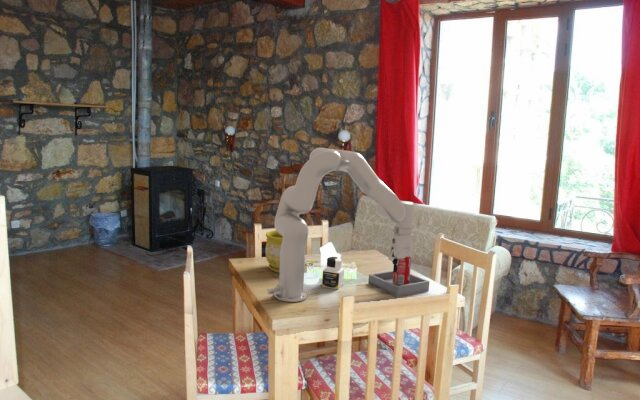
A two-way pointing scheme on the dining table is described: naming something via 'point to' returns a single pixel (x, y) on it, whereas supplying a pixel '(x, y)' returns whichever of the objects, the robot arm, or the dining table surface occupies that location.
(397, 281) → the soda can
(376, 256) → the dining table surface
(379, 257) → the dining table surface
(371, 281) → the tray
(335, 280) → the medicine bottle
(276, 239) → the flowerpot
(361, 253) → the dining table surface
